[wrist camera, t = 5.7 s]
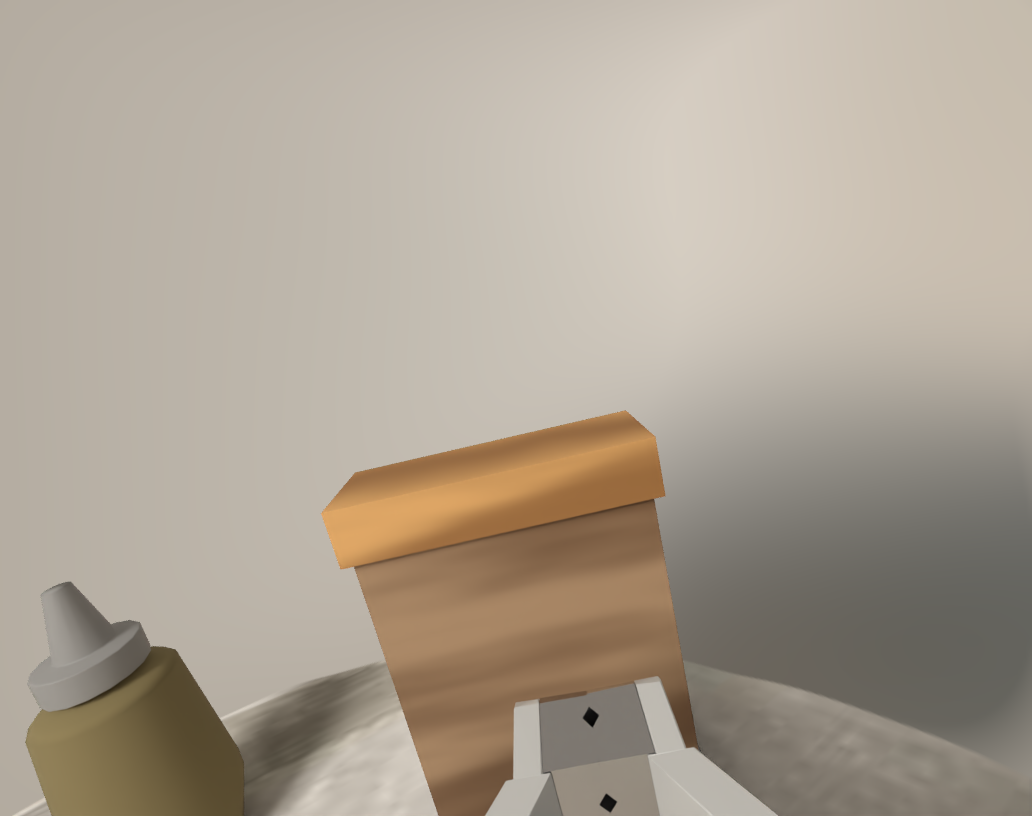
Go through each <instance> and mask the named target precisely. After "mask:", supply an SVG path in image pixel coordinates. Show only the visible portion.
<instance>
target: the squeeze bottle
mask: <svg viewBox="0 0 1032 816" xmlns="http://www.w3.org/2000/svg"><path fill="white" fill-rule="evenodd" d="M41 600H42V606H43V613H44V619H45V625H46V631H47V637H48V644H49V650H50V657H48V658H47V659H46V660H44V661H43V662H41V664H39V665H38V667H37V668H36V669H35V670H34V671H33V672H32V673H31V674H30V676H29V680H28V686H29V689H30V690H31V692H32V694H33V696H34V698H35V699H36V701H37V703H38V705H39V707H40V708H41V709H42V710H41V711H40V713H39V714H38V715H37V717H36V718H35V719H34V721H33V723H32V724H31V725H30V727H29V729H28V733H27V738H26V742H25V743H26V745H27V748H28V751H29V753H30V757H31V759H32V762H33V765H34V767H35V770H36V773H37V776H38V778H39V782H40V784H41V787H42V790H43V793H44V796H45V798H46V801H47V804H48V807H49V810H50V812H51V815H52V816H244V761H243V759H242V756H241V754H240V751H239V749H238V747H237V745H236V744H235V742H234V741H233V739H232V737H231V736H230V734H229V733H228V731H227V730H226V728H225V726H224V725H223V723H222V722H221V720H220V719H219V717H218V715H217V714H216V712H215V711H214V709H213V708H212V706H211V705H210V703H209V701H208V700H207V698H206V697H205V695H204V694H203V692H202V690H201V689H200V687H199V686H198V684H197V682H196V681H195V679H194V678H193V676H192V675H191V673H190V671H189V670H188V668H187V667H186V665H185V664H184V662H183V660H182V659H181V657H180V656H179V654H178V652H177V651H176V650H175V649H171V648H167V647H156V646H155V647H154V646H153V647H150V643H149V641H148V639H147V637H146V635H145V633H144V631H143V628H142V626H141V624H140V622H135V621H131V620H128V621H123V622H117V623H114V624H110V623H109V622H108V621H107V620H106V619H105V618H104V617H103V616H102V615H101V613H100V612H99V611H98V610H97V609H96V608H95V607H94V606H93V605H92V604H91V603H90V602H89V601H88V600H87V599H86V598H85V596H84V595H83V594H82V593H81V592H80V591H79V590H78V589H77V588H76V587H75V586H74V585H73V584H72V583H71V582H65V583H62V584H59V585H56V586H54V587H52V588H50V589H48V590H46V591H45V592H43V593H42V594H41Z"/></svg>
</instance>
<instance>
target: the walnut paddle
mask: <svg viewBox="0 0 1032 816" xmlns="http://www.w3.org/2000/svg"><path fill="white" fill-rule="evenodd" d="M663 496H665V491H664V485H663V479H662V473H661V467H660V461H659V456H658V450H657V444H656V438H655V436H654V435H653V434H652V433H650V432H649V431H648V430H647V429H646V428H645V427H644V426H643V425H641V424H640V423H639V422H638V421H637V420H636V419H635V418H634V417H632V416H631V415H630V414H629V413H628V412H627V411H621V412H617V413H612V414H608V415H604V416H600V417H595V418H591V419H586V420H582V421H578V422H573V423H569V424H565V425H560V426H556V427H551V428H547V429H543V430H539V431H535V432H530V433H525V434H521V435H517V436H512V437H508V438H504V439H500V440H495V441H491V442H487V443H482V444H478V445H473V446H470V447H465V448H460V449H456V450H452V451H447V452H443V453H439V454H434V455H430V456H426V457H421V458H417V459H413V460H408V461H404V462H400V463H395V464H391V465H387V466H383V467H378V468H373V469H369V470H365V471H360V472H356V473H354V475H353V476H352V477H351V478H350V479H349V481H348V482H347V483H346V484H345V485H344V487H343V488H342V489H341V490H340V491H339V493H338V494H337V495H336V496H335V498H334V499H333V500H332V501H331V502H330V503H329V505H328V506H327V507H326V508H325V509H324V511H323V512H322V513H321V514H322V517H323V520H324V523H325V526H326V528H327V532H328V534H329V537H330V540H331V543H332V546H333V549H334V552H335V555H336V557H337V560H338V563H339V566H340V569H345V568H350V567H354V568H355V571H356V574H357V577H358V580H359V583H360V586H361V589H362V592H363V595H364V598H365V601H366V603H367V606H368V609H369V612H370V615H371V618H372V621H373V624H374V627H375V630H376V633H377V635H378V639H379V642H380V645H381V647H382V650H383V653H384V656H385V659H386V662H387V665H388V668H389V671H390V674H391V677H392V680H393V683H394V686H395V689H396V692H397V695H398V698H399V701H400V704H401V706H402V709H403V712H404V715H405V718H406V721H407V724H408V727H409V730H410V733H411V736H412V739H413V742H414V745H415V748H416V751H417V754H418V757H419V759H420V762H421V765H422V768H423V771H424V774H425V777H426V780H427V783H428V786H429V789H430V792H431V795H432V798H433V801H434V804H435V807H436V809H437V812H438V815H439V816H485V815H486V813H487V812H488V810H489V808H490V807H491V805H492V803H493V802H494V800H495V798H496V797H497V795H498V793H499V792H500V790H501V788H502V787H503V785H504V783H505V781H507V780H512V779H513V753H514V707H515V703H516V702H522V701H529V700H535V699H540V698H544V697H550V696H556V695H562V694H569V693H575V692H581V691H587V690H591V689H596V688H601V687H606V686H611V685H616V684H621V683H626V682H631V681H633V682H634V681H635V680H640V679H645V678H650V677H655V676H658V677H659V678H660V679H661V682H662V684H663V687H664V690H665V692H666V695H667V698H668V700H669V703H670V706H671V708H672V711H673V714H674V716H675V719H676V722H677V724H678V727H679V730H680V732H681V735H682V738H683V740H684V743H685V746H686V748H692V747H695V748H696V749H697V750H698V744H697V738H696V733H695V727H694V722H693V716H692V710H691V705H690V699H689V693H688V688H687V682H686V676H685V671H684V665H683V660H682V654H681V648H680V643H679V637H678V632H677V626H676V620H675V614H674V609H673V603H672V598H671V592H670V586H669V581H668V576H667V569H666V564H665V558H664V552H663V547H662V541H661V536H660V530H659V524H658V519H657V513H656V508H655V502H654V499H655V498H659V497H663ZM698 751H699V750H698Z"/></svg>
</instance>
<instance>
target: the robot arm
mask: <svg viewBox="0 0 1032 816" xmlns="http://www.w3.org/2000/svg"><path fill="white" fill-rule="evenodd" d="M485 816H778V815H777V814H776V813H775V812H773V811H772V810H771V809H770V808H769V807H767V806H766V805H765V804H764V803H762V802H761V801H760V800H759V799H757V798H756V797H755V796H754V795H753V794H751V793H750V792H749V791H748V790H746V789H745V788H744V787H743V786H742V785H740V784H739V783H738V782H737V781H735V780H734V779H733V778H732V777H730V776H729V775H728V774H727V773H726V772H724V771H723V770H722V769H721V768H719V767H718V766H717V765H716V764H714V763H713V762H712V761H711V760H710V759H708V758H707V757H706V756H705V755H703V754H702V753H701V752H700V751H698V750H697V749H696V748H695V747H692V748H686V746H685V743H684V740H683V738H682V735H681V732H680V730H679V727H678V724H677V722H676V719H675V716H674V714H673V711H672V708H671V706H670V703H669V700H668V698H667V695H666V692H665V690H664V687H663V684H662V682H661V679H660V678H659V677H658V676H655V677H650V678H645V679H640V680H635V681H634V682H633V681H631V682H626V683H621V684H616V685H611V686H606V687H601V688H596V689H591V690H587V691H581V692H575V693H569V694H562V695H556V696H550V697H544V698H540V699H535V700H529V701H522V702H516V703H515V707H514V753H513V779H512V780H507V781H505V783H504V785H503V787H502V788H501V790H500V792H499V793H498V795H497V797H496V798H495V800H494V802H493V803H492V805H491V807H490V808H489V810H488V812H487V813H486V815H485Z"/></svg>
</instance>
